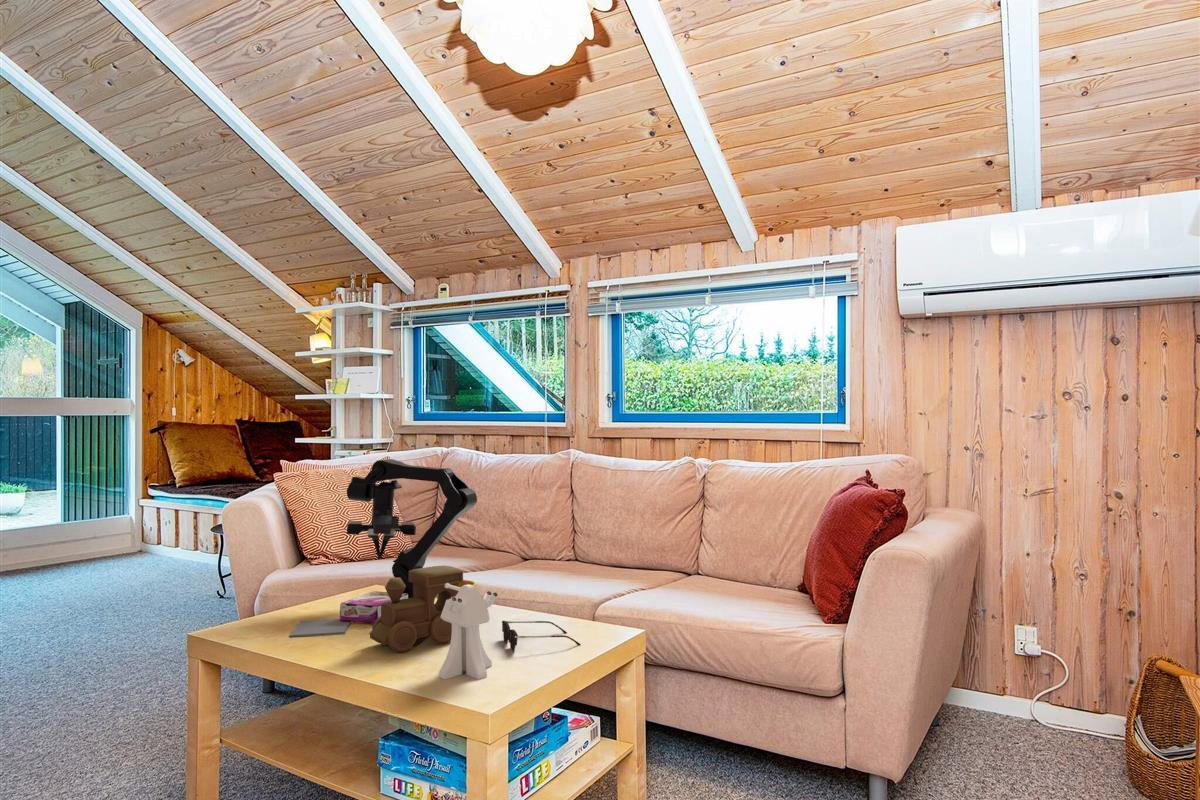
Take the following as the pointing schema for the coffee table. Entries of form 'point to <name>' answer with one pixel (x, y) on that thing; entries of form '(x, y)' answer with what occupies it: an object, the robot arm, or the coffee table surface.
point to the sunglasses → (513, 636)
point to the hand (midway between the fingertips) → (379, 558)
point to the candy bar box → (365, 607)
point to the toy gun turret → (466, 632)
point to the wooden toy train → (417, 608)
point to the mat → (320, 628)
